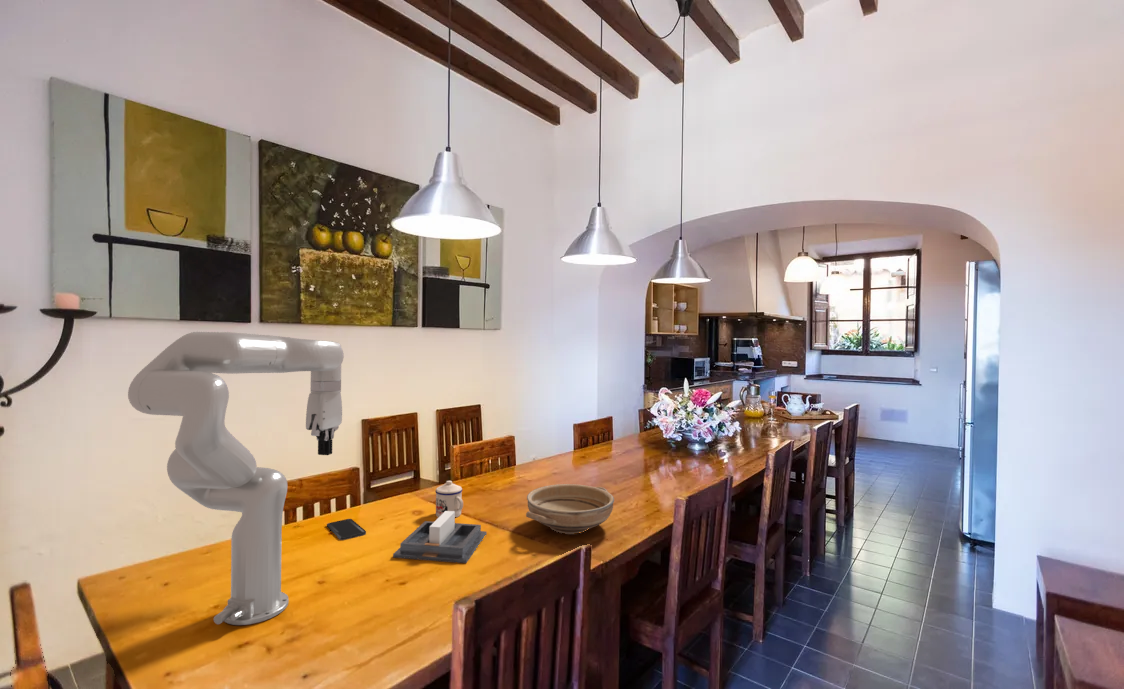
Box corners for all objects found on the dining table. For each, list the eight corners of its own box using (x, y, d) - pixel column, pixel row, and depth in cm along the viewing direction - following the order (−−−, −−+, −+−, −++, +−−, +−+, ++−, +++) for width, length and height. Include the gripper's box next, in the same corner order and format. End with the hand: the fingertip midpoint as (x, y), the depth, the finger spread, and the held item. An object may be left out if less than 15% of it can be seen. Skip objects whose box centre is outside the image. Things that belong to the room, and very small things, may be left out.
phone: (350, 518, 166) (367, 531, 154) (350, 521, 166) (367, 535, 154) (325, 523, 161) (340, 538, 149) (325, 527, 161) (340, 542, 149)
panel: (439, 552, 140) (439, 527, 140) (429, 551, 141) (429, 526, 141) (454, 534, 153) (454, 511, 153) (445, 533, 154) (445, 510, 154)
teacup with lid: (429, 514, 172) (430, 481, 172) (451, 508, 179) (451, 476, 179) (450, 523, 164) (451, 488, 164) (472, 516, 171) (473, 482, 171)
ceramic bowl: (566, 558, 140) (566, 522, 140) (497, 531, 159) (498, 499, 159) (637, 523, 168) (637, 493, 168) (572, 503, 187) (572, 476, 187)
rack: (466, 563, 136) (466, 549, 136) (393, 557, 139) (393, 543, 139) (486, 534, 156) (486, 522, 156) (422, 530, 159) (422, 518, 158)
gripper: (329, 384, 143) (328, 447, 143) (295, 389, 128) (294, 460, 129) (353, 384, 142) (352, 449, 143) (322, 390, 127) (321, 461, 128)
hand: (325, 454), depth 136 cm, fingers closed
